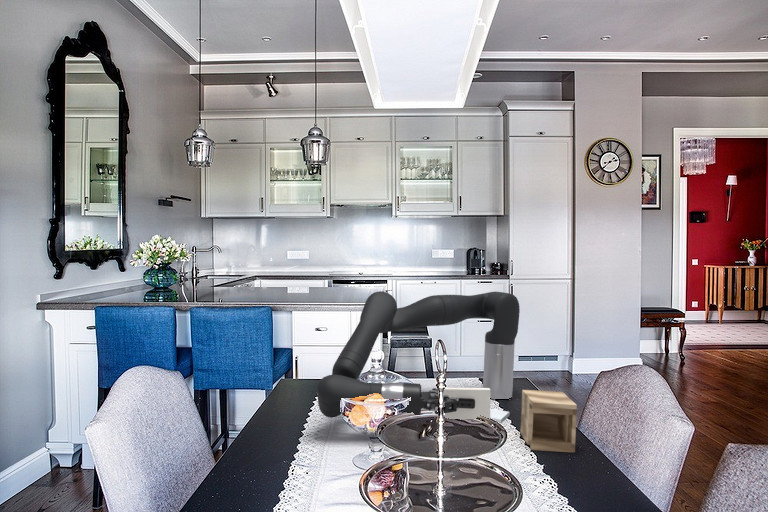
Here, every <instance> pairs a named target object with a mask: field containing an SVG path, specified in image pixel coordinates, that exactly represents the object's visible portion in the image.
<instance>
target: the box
mask: <svg viewBox="0 0 768 512" xmlns="http://www.w3.org/2000/svg"><path fill="white" fill-rule="evenodd" d="M577 409H578V405H577V403H575V402H574V401H573V400H572V399H571V398H570V397H569V396H567V395H566V394H565V393H564V392H563V391H554V390H553V391H552V390H537V389H536V390H535V389H534V390H533V389H521V409H520V427H519V428H520V431H519V432H520V435H521V436H522V438H523V440H524V441H525V443H526V445H529V446H530V447H529V449H530V451H542V452H543V451H544V452H557V453H558V452H560V453H561V452H562V453H576V437H577V436H576V434H577V433H576V432H577V431H576V430H577V411H578V410H577Z"/></svg>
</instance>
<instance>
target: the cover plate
mask: <svg viewBox="0 0 768 512" xmlns="http://www.w3.org/2000/svg"><path fill="white" fill-rule="evenodd" d="M444 388H445V389H444V395H448V396H449V397H457V398H469V399H474V400H475V408H474V409H469V408H459V409H457V411H456V412H450V413H445V418H447V419H448V418H449V419H460V420H461V419H476V418H477V416H479V417H480V415H481V416H484V417H486V418H489V419H490V408H491V399H490V388H483V387H444ZM444 401H445V399H444ZM450 406H452V404H450Z"/></svg>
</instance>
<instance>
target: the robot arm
mask: <svg viewBox="0 0 768 512" xmlns="http://www.w3.org/2000/svg"><path fill="white" fill-rule="evenodd" d="M520 309H521V308H520V303H519V299H518V297H516V295H514V294H513V293H510V292H509V293H508V292H502V291H489V292H485V293H479V294H472V295H471V294H470V295H463V294H436V295H435V294H434V295H429V296H427V297H423V298H421V299H419V300H417V301H415V302H412V303H411V304H409V305H406V306H401V307H398V305H397V300H396V299H395V298H394V296H393V295H392V294H391V293H389V292H386V291H381V290H380V291H375V292H373V293H371V294H370V295H369V296H368V297H367V299H366V300H365V303H364V305H363V308H362V311H361V314H360V317H359V322H358V323H357V326H356V328H355V329H354V331H353V333H352V334H351V336H350V337H349V338H348V341H347V342H346V343H345V345H344V347H343V348H342V350H341V352H340V353H339V355H338V357H337V359H336V361H335V362H334V364H333V366H332V371H331V372H332V373H331V374H329V375H326V376H324V377H322V378H321V379H319V381H318V383H317V384H316V395H317V404H318V408H319V411H320V413H321V414H322V415H323V416H325V417H327V418H330V419H331V418H336V417H339V416H341V415H342V414H341V412H340V400H341V398H355V397H359V396H367V395H369V394H373V393H379V394H381V395H382V397H383V398H384V399H402V398H407V397H408V398H410V397H411V401H409V405H407V407H406V408H405V412H407V413H411V412H413V413H414V414H415V415H420V416H421V414H422V410H427V411H429V412H434V415H439V414H438V412H437V408H438V389H439V388H434V387H433V388H432V389H430V390H428V391H422V385H421V383H412V382H410V383H409V382H365V381H363V380H359V379H358V378H359V377H360V376H361V374H362V372H363V370H364V368H365V366H366V364H367V361H368V360H369V358H370V355H371V354H372V350H373V348H374V347H375V344H376V341H377V340H378V336H380V334H386V333H390V332H395V331H400V330H406V329H413V328H415V329H416V328H425V327H438V326H439V327H440V326H450V325H454V324H459V323H461V322H464V321H466V320H468V319H487V320H492V321H493V324H492V325H493V327H492V329H491V330H489V331H487V332H486V333H485V336H484V358H483V359H484V360H483V362H484V363H483V375H482V376H483V380H482V388H490V398H491V399H490V400H495V399H509V398H511V397H512V398H513V389H514V387H513V385H514V367H515V366H514V363H515V361H514V360H515V344H516V343H515V340H516V337H517V335H518V333H519V322H520V311H521V310H520ZM444 399H445V401H444V402H445V407H444V413H450V412H456V411H457V409H459V408H469V409H474V408H475V400H474V399H469V398H457V397H449V396H448V395H444ZM509 400H510V399H509ZM450 404H452V406H450Z"/></svg>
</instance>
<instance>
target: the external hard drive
mask: <svg viewBox="0 0 768 512" xmlns="http://www.w3.org/2000/svg"><path fill="white" fill-rule="evenodd" d="M510 415H511V414H510V411H506V410H500V409H495V408H491V407H490V418H492V419H494V420H496V421H497V422H499V423H498V424H502V423H503V422H504V421H506V420H507V418H509V417H510ZM497 422H496V423H497Z"/></svg>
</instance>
